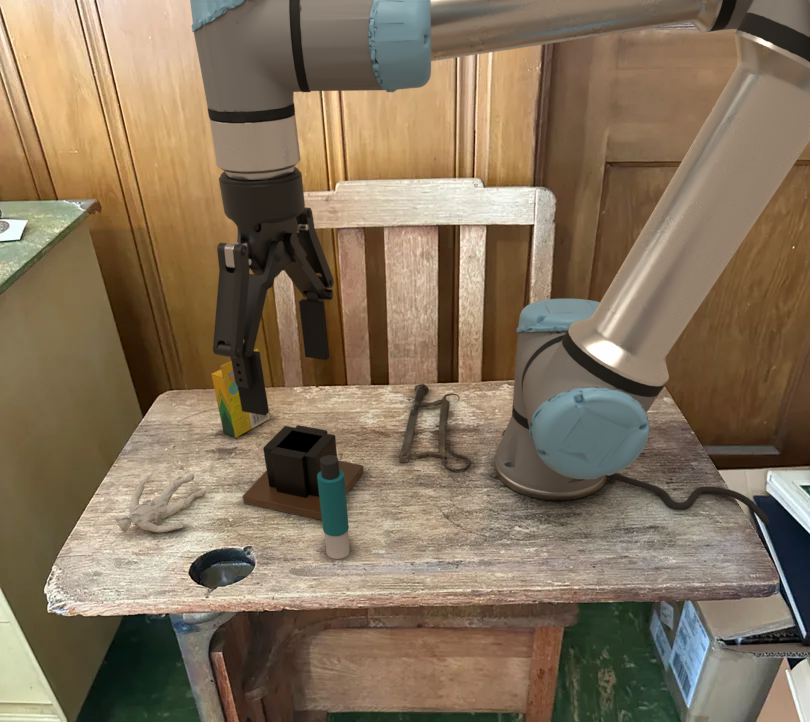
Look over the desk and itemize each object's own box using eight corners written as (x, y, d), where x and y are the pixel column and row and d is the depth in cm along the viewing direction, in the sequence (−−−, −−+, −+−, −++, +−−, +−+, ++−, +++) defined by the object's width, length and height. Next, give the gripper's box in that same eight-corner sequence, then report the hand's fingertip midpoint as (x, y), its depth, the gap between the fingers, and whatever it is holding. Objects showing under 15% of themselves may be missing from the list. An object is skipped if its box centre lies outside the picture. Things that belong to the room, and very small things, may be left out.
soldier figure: (219, 510, 100) (156, 536, 89) (197, 527, 102) (133, 555, 92) (186, 460, 100) (119, 481, 89) (165, 479, 102) (97, 501, 92)
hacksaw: (415, 389, 124) (415, 381, 123) (478, 391, 122) (479, 383, 121) (395, 469, 105) (395, 460, 104) (470, 473, 104) (470, 464, 103)
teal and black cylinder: (354, 547, 92) (347, 455, 83) (344, 562, 89) (335, 469, 81) (332, 541, 92) (322, 450, 84) (321, 556, 90) (310, 464, 82)
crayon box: (258, 413, 118) (247, 343, 111) (271, 419, 117) (261, 347, 110) (221, 432, 114) (207, 360, 107) (235, 439, 112) (221, 366, 105)
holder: (364, 472, 104) (360, 426, 100) (326, 521, 96) (321, 473, 91) (286, 457, 108) (280, 412, 104) (243, 503, 99) (234, 456, 95)
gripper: (290, 139, 79) (311, 334, 92) (138, 201, 61) (192, 432, 74) (355, 143, 77) (367, 342, 90) (218, 208, 59) (258, 445, 72)
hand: (288, 383), depth 82 cm, fingers open, 13 cm apart
